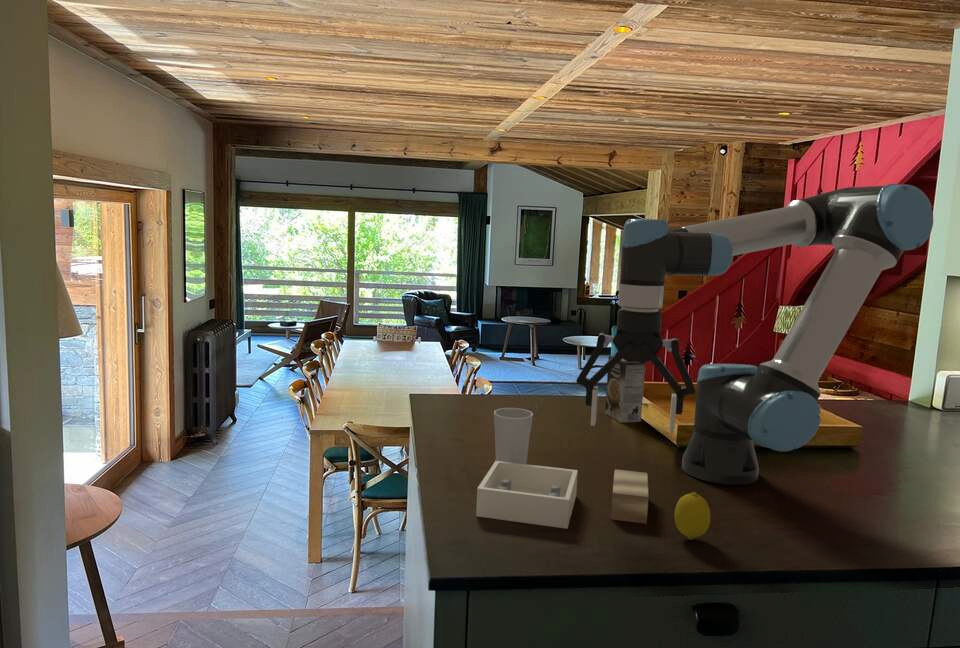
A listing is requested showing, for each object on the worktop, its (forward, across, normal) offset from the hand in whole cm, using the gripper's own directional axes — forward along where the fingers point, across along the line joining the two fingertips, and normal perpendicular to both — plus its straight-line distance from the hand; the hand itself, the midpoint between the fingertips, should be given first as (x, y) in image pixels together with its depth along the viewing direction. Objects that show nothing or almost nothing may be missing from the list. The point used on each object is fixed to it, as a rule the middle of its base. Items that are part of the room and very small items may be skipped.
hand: (631, 427), depth 120 cm
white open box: (+15, +17, +5) cm, 23 cm away
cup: (+15, +24, -12) cm, 30 cm away
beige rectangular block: (+15, 0, 0) cm, 15 cm away
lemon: (+15, -10, +10) cm, 21 cm away
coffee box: (+15, +3, -61) cm, 63 cm away
